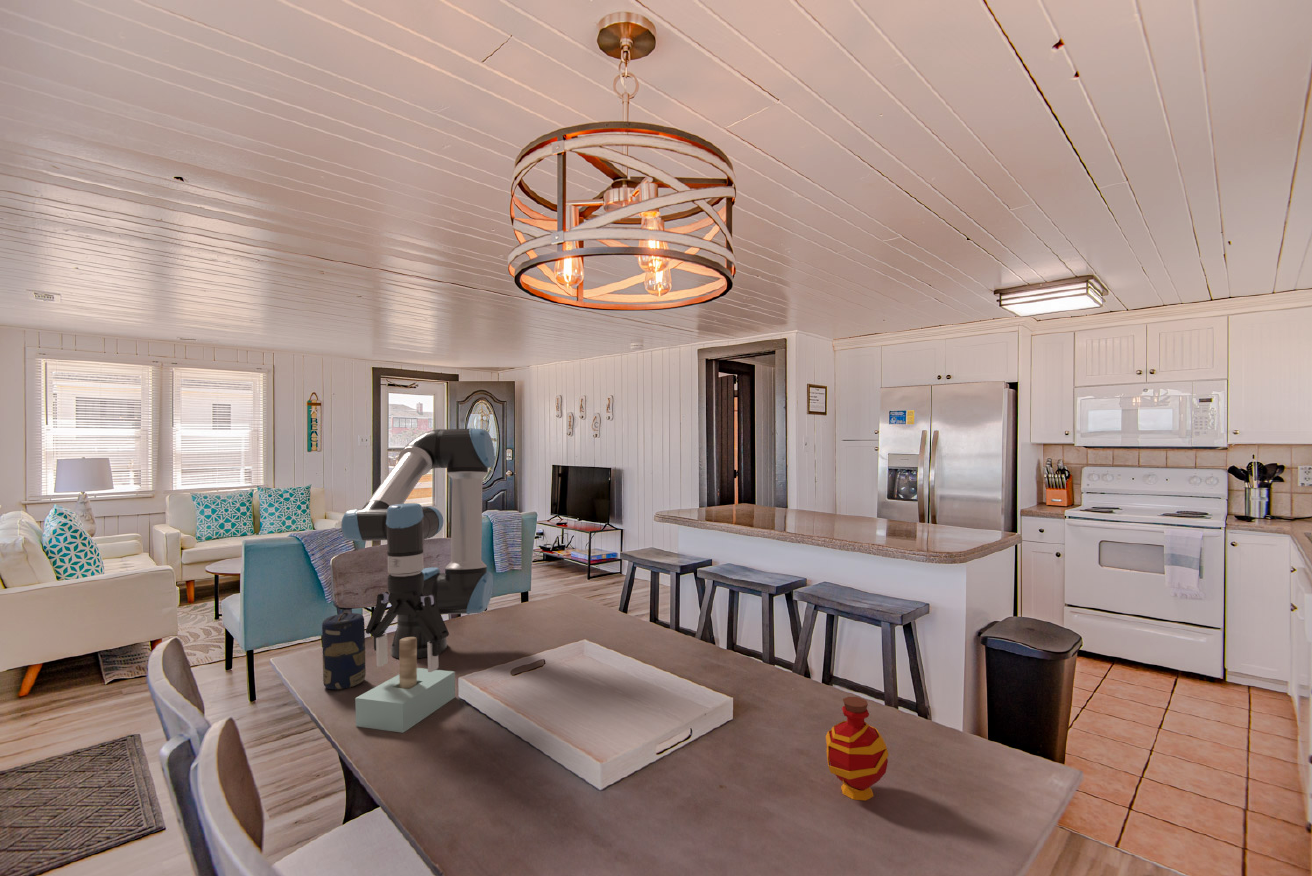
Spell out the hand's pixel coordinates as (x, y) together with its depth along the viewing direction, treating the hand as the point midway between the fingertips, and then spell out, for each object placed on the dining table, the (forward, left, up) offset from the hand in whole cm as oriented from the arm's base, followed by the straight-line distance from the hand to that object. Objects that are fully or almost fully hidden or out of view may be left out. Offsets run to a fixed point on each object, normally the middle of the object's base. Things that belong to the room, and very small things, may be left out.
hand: (407, 667), depth 135 cm
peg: (0, 0, -10) cm, 10 cm away
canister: (-9, -26, -10) cm, 29 cm away
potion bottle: (+8, +96, -10) cm, 96 cm away
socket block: (0, 0, -10) cm, 10 cm away
